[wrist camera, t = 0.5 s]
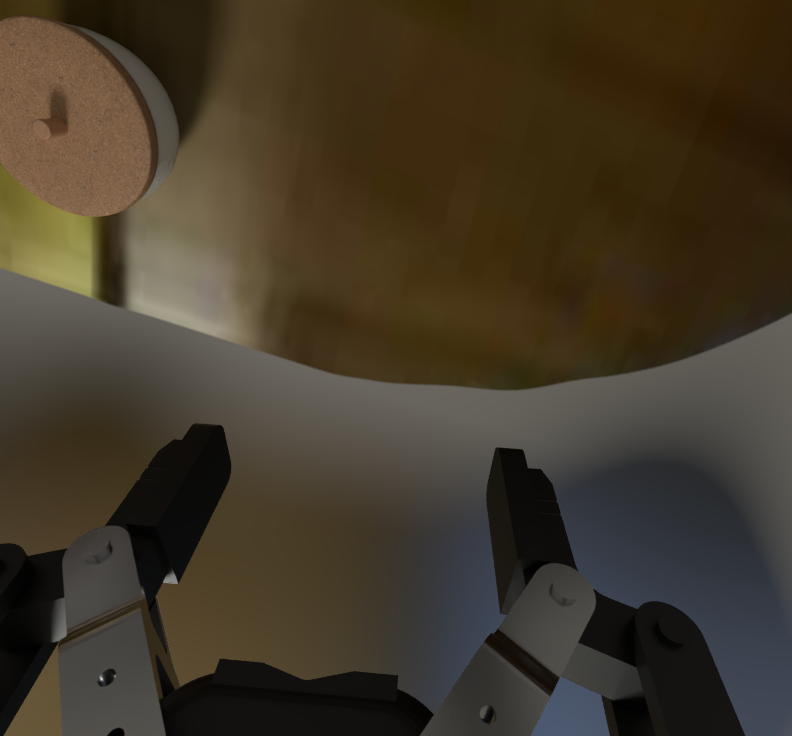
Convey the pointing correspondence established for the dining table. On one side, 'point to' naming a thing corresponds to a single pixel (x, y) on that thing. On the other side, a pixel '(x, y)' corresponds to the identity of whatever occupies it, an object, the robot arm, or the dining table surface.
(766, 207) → the dining table surface
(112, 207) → the lidded jar
